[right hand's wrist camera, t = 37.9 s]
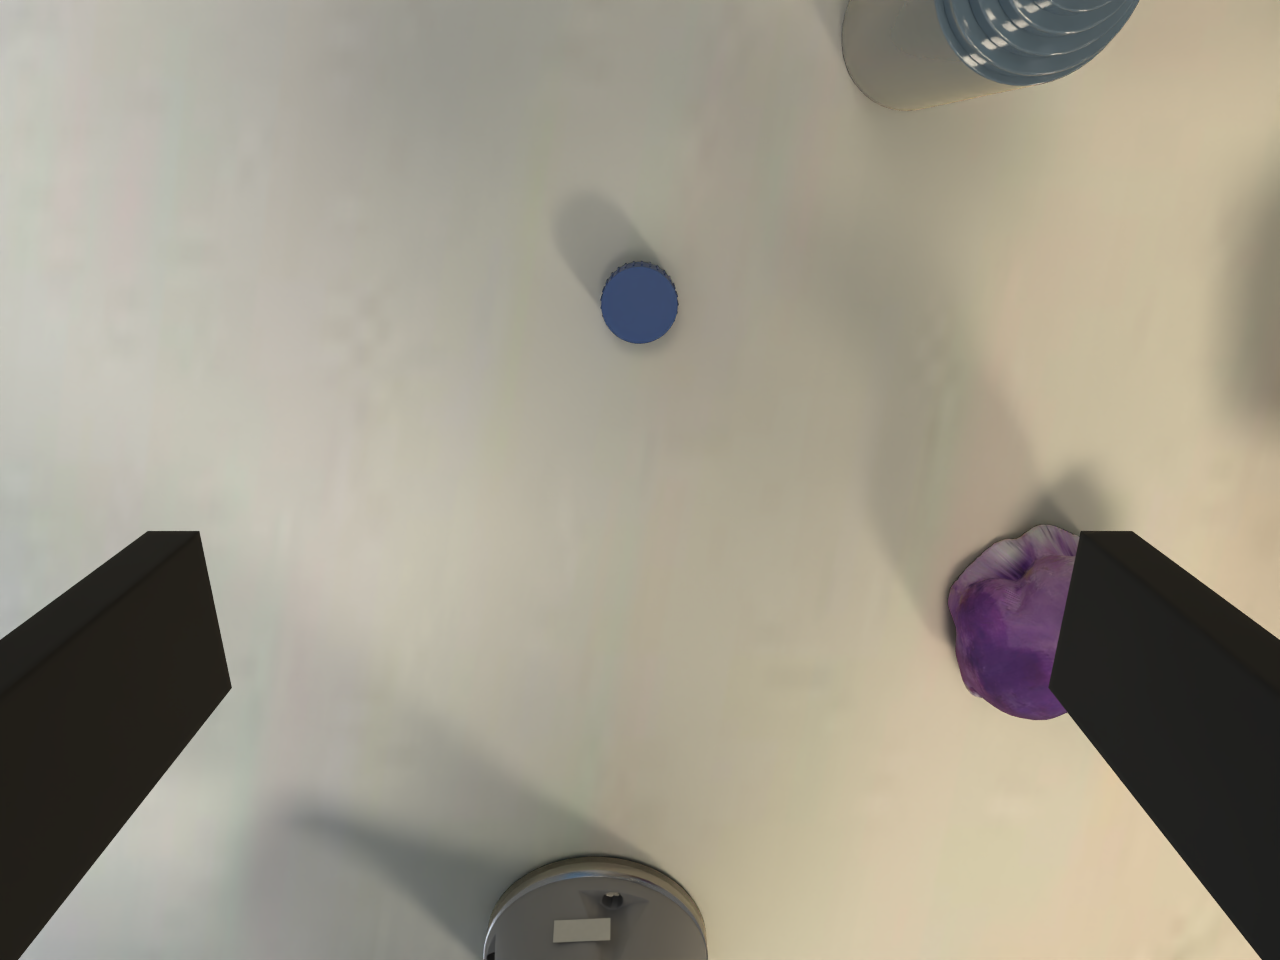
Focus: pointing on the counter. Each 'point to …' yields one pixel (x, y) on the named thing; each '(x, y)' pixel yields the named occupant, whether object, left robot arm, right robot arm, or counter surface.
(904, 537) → the counter surface
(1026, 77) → the bottle
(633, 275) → the cap
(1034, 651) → the figurine
